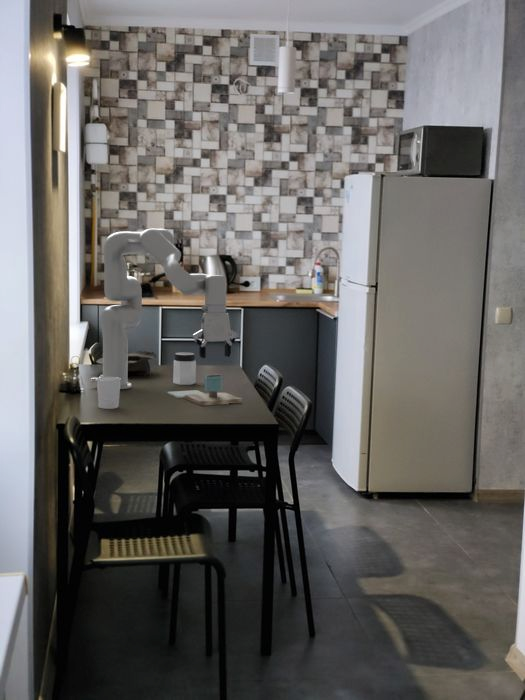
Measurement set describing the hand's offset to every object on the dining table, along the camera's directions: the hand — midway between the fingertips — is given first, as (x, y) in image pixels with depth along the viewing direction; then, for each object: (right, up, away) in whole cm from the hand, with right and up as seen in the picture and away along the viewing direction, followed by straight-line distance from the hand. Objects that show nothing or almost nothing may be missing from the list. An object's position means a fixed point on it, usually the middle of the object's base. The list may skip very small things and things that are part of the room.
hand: (215, 357), depth 332 cm
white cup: (-36, -17, -15) cm, 43 cm away
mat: (-11, -14, +13) cm, 22 cm away
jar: (-14, -11, +38) cm, 42 cm away
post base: (-1, -16, +2) cm, 16 cm away
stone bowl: (-41, -8, +58) cm, 71 cm away
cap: (-1, -12, +2) cm, 12 cm away
